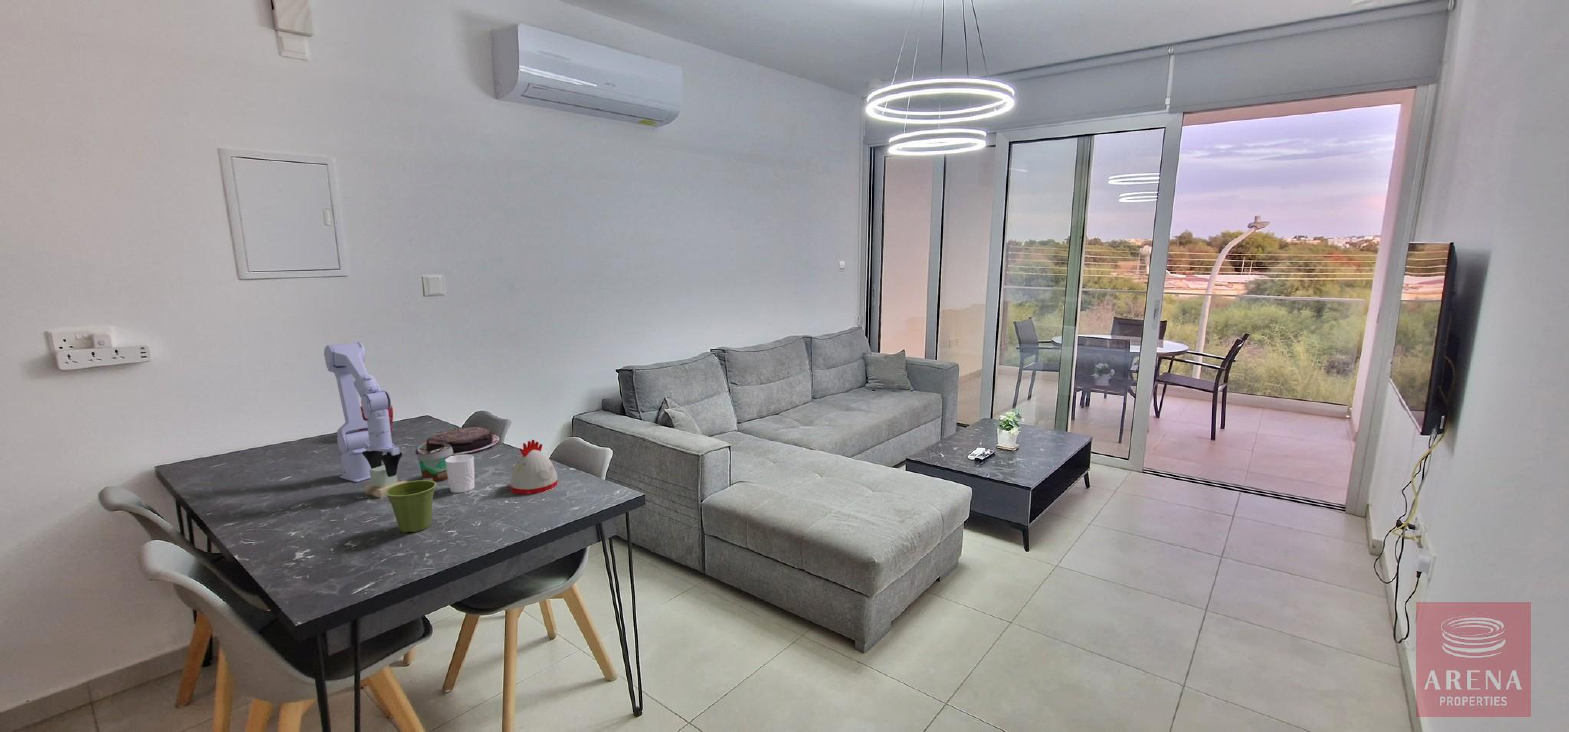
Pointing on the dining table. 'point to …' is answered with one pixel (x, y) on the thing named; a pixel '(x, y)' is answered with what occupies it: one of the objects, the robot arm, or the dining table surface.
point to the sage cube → (381, 477)
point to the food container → (435, 463)
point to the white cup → (460, 472)
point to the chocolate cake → (461, 440)
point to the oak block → (379, 489)
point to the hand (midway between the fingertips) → (384, 473)
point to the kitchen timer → (532, 471)
